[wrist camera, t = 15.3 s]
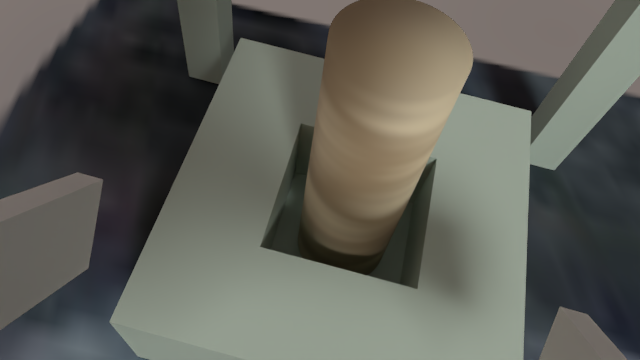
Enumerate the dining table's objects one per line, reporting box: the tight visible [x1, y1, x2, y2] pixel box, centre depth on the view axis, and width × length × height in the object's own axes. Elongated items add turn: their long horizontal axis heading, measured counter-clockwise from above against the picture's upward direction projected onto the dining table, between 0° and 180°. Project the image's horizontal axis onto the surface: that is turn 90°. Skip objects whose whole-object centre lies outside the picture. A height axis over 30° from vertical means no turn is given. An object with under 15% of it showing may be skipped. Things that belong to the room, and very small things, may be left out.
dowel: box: [298, 0, 473, 275], centre depth 19 cm, size 4×4×12 cm
